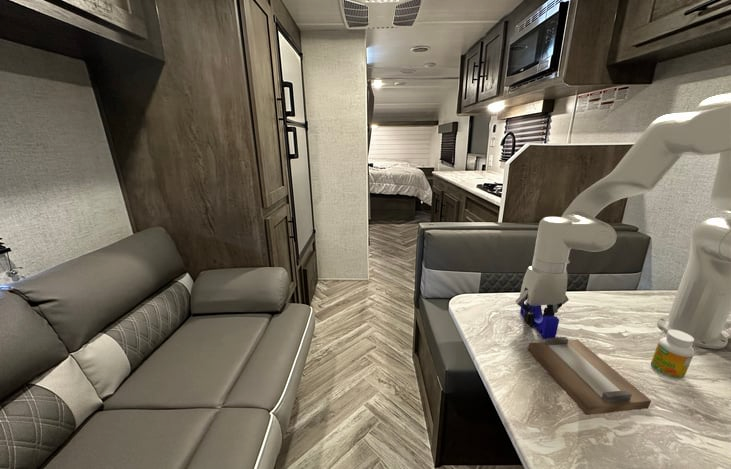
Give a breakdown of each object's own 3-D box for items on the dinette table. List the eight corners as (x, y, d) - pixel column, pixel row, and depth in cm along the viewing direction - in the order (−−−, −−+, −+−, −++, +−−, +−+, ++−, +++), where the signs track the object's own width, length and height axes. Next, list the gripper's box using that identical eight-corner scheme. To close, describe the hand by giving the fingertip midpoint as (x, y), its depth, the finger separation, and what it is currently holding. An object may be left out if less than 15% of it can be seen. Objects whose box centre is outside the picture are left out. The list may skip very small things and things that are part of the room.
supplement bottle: (644, 366, 67) (657, 330, 64) (658, 360, 69) (671, 325, 65) (674, 383, 62) (690, 346, 59) (689, 376, 64) (705, 339, 61)
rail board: (575, 345, 73) (578, 334, 72) (648, 408, 56) (653, 394, 55) (527, 349, 72) (529, 338, 71) (586, 415, 55) (590, 401, 54)
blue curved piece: (520, 312, 87) (523, 294, 86) (536, 313, 87) (539, 295, 85) (536, 338, 76) (540, 318, 74) (555, 339, 76) (559, 319, 74)
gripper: (568, 256, 80) (556, 313, 86) (509, 260, 78) (501, 318, 84) (591, 268, 73) (576, 329, 79) (527, 272, 71) (516, 334, 77)
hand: (537, 323), depth 81 cm, fingers closed on blue curved piece, 4 cm apart
